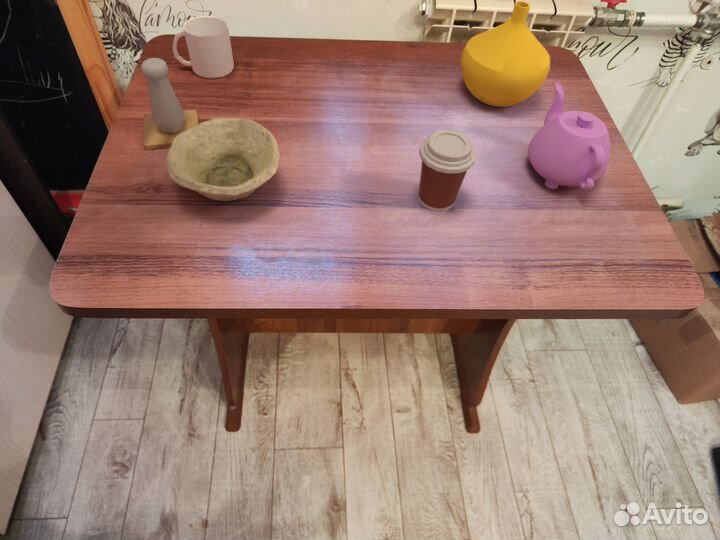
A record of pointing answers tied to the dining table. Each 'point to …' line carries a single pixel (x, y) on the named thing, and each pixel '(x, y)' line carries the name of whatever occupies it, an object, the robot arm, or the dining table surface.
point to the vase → (505, 62)
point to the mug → (207, 46)
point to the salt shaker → (162, 96)
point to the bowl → (223, 158)
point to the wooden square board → (159, 139)
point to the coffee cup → (443, 168)
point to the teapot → (570, 146)
